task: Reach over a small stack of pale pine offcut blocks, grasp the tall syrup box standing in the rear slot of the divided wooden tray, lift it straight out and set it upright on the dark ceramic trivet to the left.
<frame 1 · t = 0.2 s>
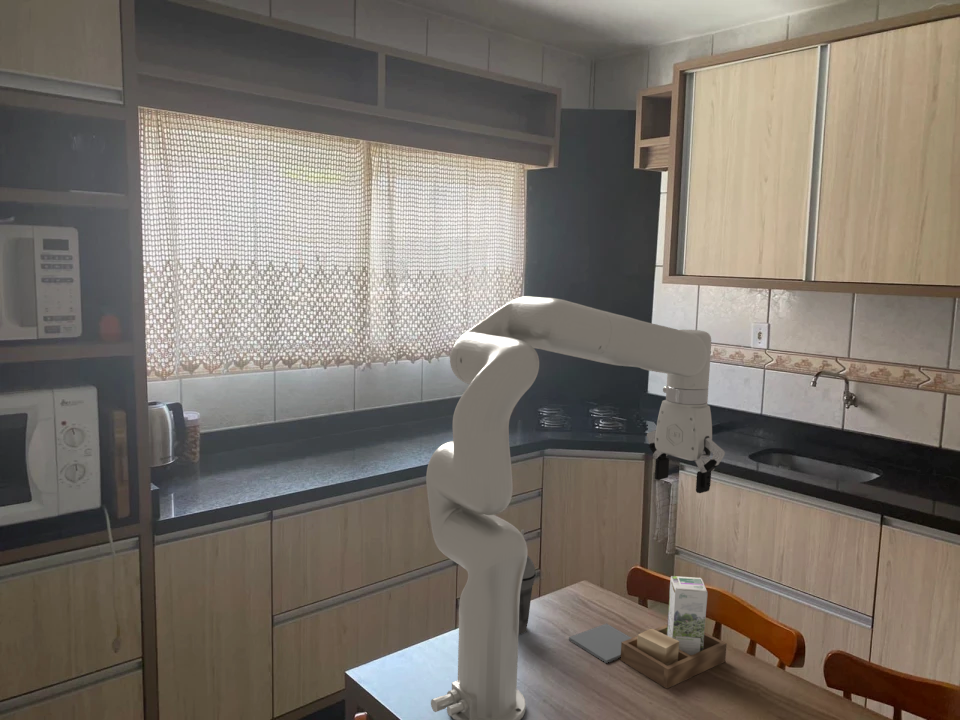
hand: (681, 485, 141), 30 cm above the table, tool pointing down, fingers open, 9 cm apart
offcut upper: (657, 653, 132), point 3 cm above the table, touching offcut lower
trivet: (606, 644, 141), on the table
offcut lower: (656, 669, 133), resting in divided wooden tray, touching offcut upper
syrup box: (683, 657, 137), resting in divided wooden tray
divided wooden tray: (672, 660, 135), on the table
beverage cup: (515, 629, 146), on the table
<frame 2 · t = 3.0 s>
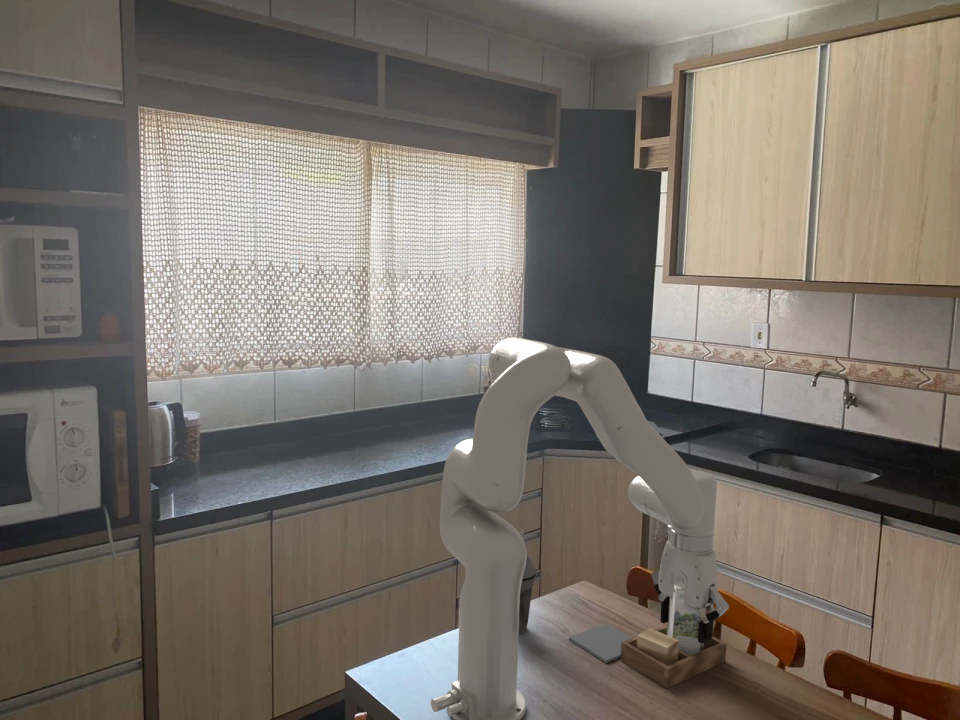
hand: (685, 630, 136), 5 cm above the table, tool pointing down, fingers closed on syrup box, 8 cm apart
syrup box: (683, 657, 137), resting in divided wooden tray, touching gripper
everything else where it was.
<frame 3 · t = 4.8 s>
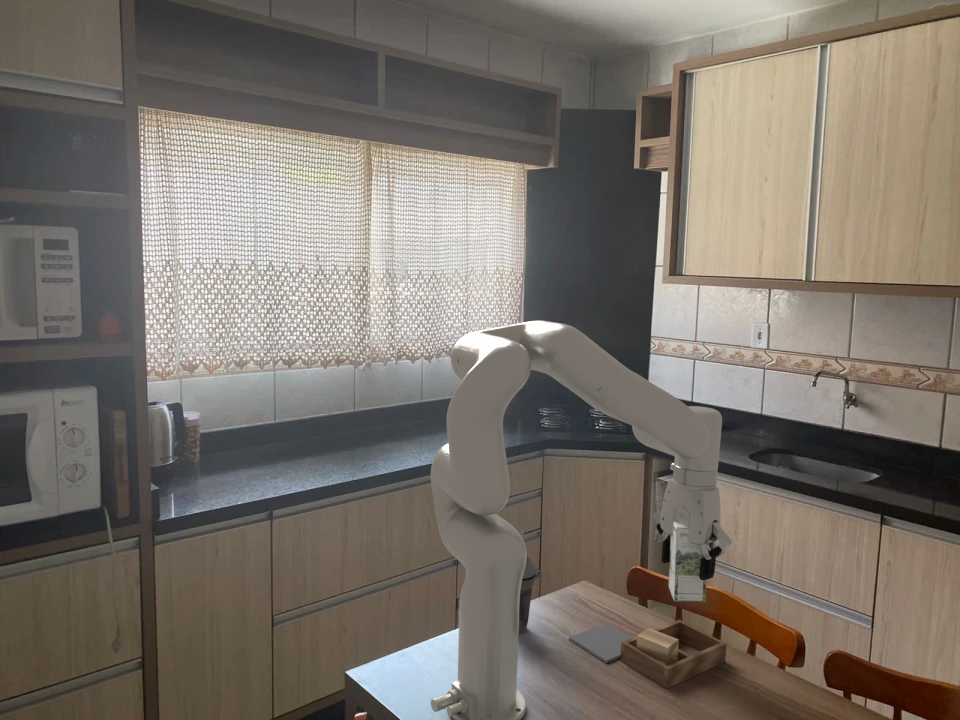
hand: (686, 569, 135), 17 cm above the table, tool pointing down, fingers closed on syrup box, 8 cm apart
offcut upper: (657, 653, 132), point 3 cm above the table
offcut lower: (656, 669, 133), resting in divided wooden tray
syrup box: (686, 596, 136), point 12 cm above the table, touching gripper
everything else where it was.
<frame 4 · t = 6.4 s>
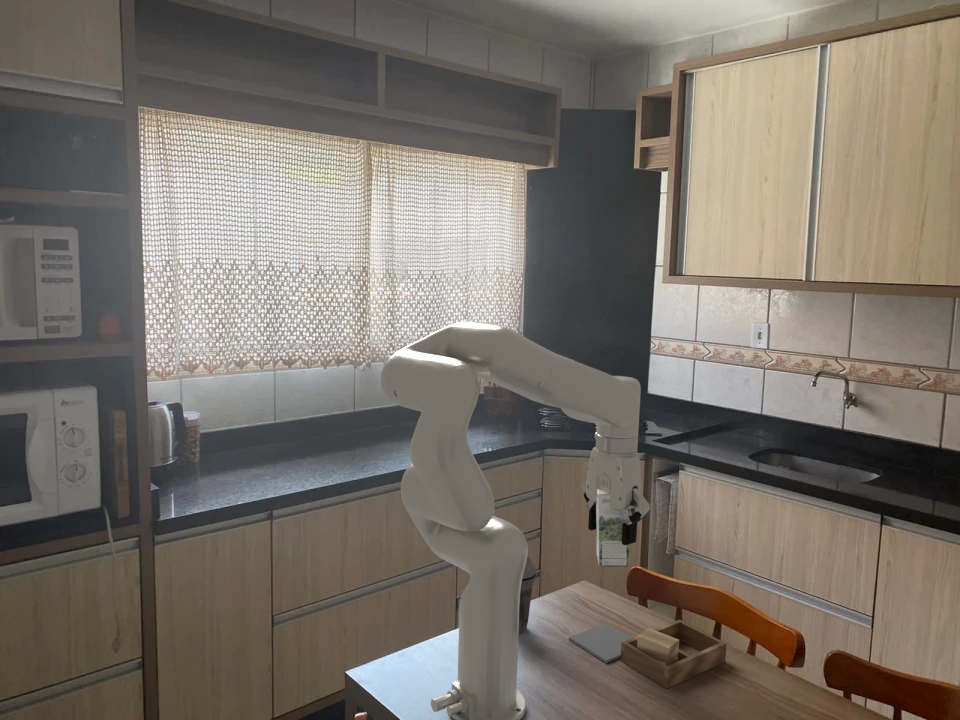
hand: (611, 535, 138), 21 cm above the table, tool pointing down, fingers closed on syrup box, 8 cm apart
offcut upper: (657, 653, 132), point 3 cm above the table, touching offcut lower
offcut lower: (656, 669, 133), resting in divided wooden tray, touching offcut upper
syrup box: (612, 562, 139), point 16 cm above the table, touching gripper
everything else where it was.
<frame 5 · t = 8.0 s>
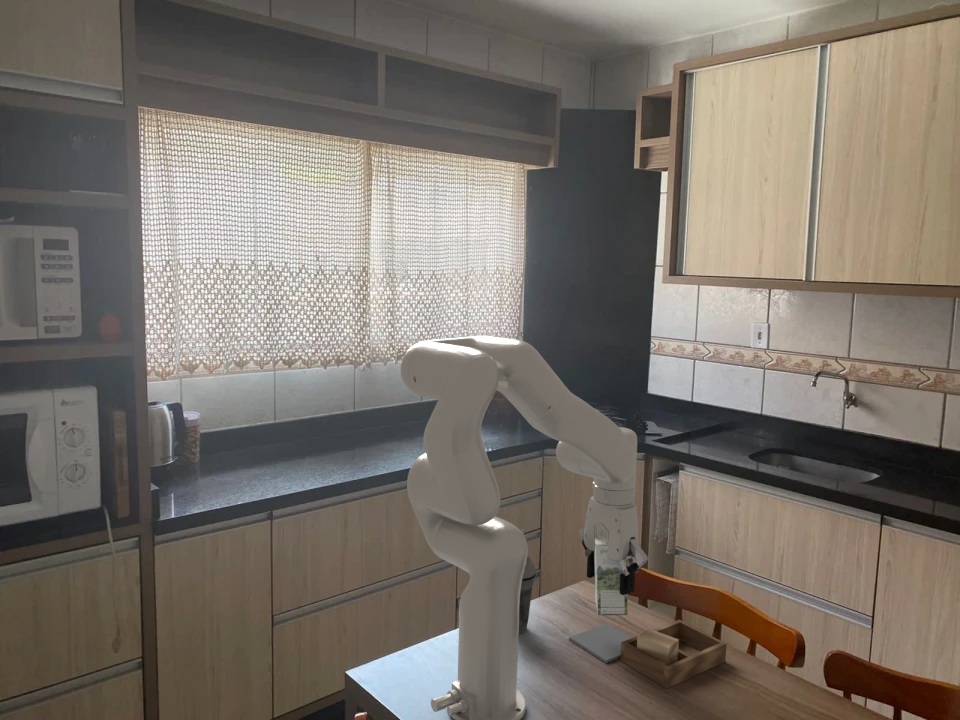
hand: (609, 583, 139), 12 cm above the table, tool pointing down, fingers closed on syrup box, 8 cm apart
syrup box: (611, 609, 140), point 7 cm above the table, touching gripper
everything else where it was.
when the fingers open (7 cm above the table, at t = 9.6 s): syrup box drops 1 cm, resting on trivet.
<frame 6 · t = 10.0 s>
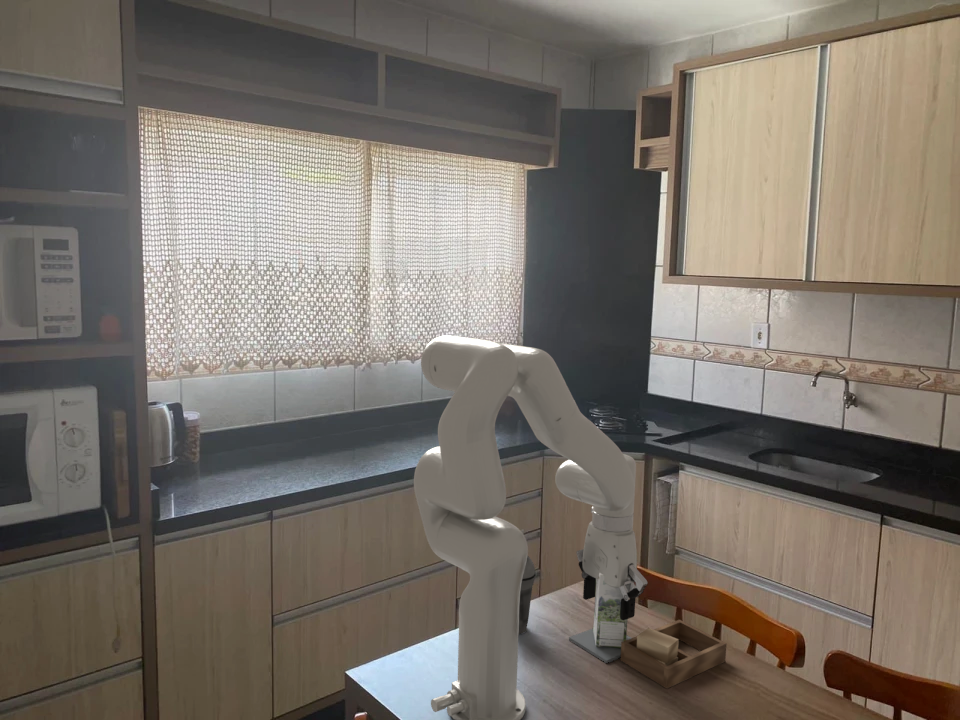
hand: (608, 607, 140), 7 cm above the table, tool pointing down, fingers open, 9 cm apart
syrup box: (609, 641, 141), resting on trivet
everything else where it was.
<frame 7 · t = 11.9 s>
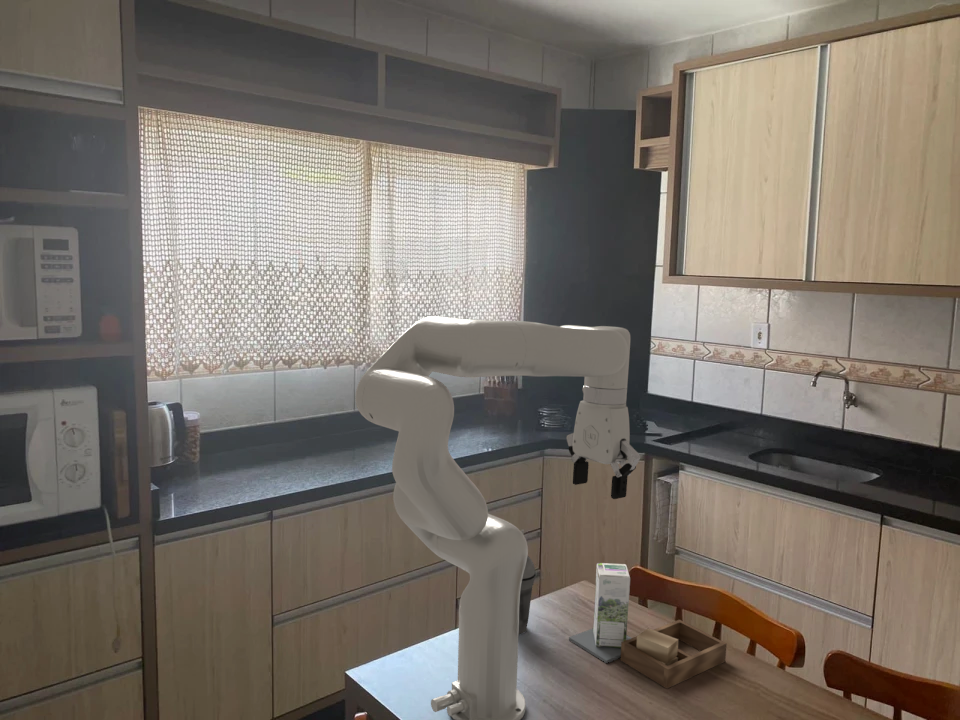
hand: (598, 490, 133), 31 cm above the table, tool pointing down, fingers open, 9 cm apart
nothing on the table moved.
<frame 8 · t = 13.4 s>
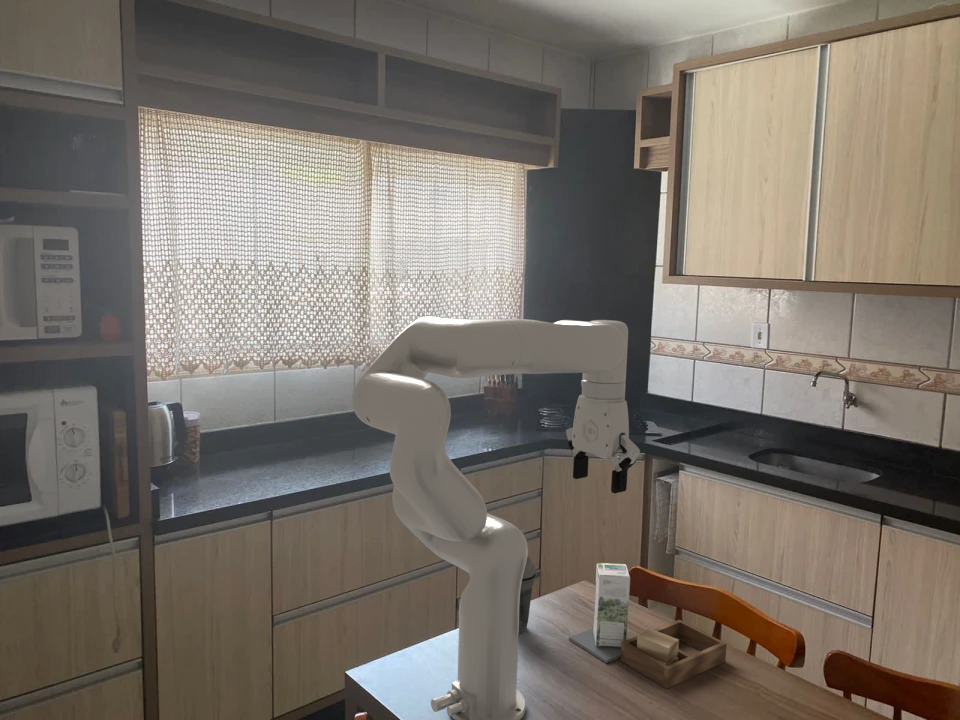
hand: (598, 484, 133), 32 cm above the table, tool pointing down, fingers open, 9 cm apart
nothing on the table moved.
at the end: syrup box inside the target area on the trivet (0.6 cm from its centre), point 0.4 cm above the trivet's base; syrup box tilted 0°; the gripper is holding nothing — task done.
